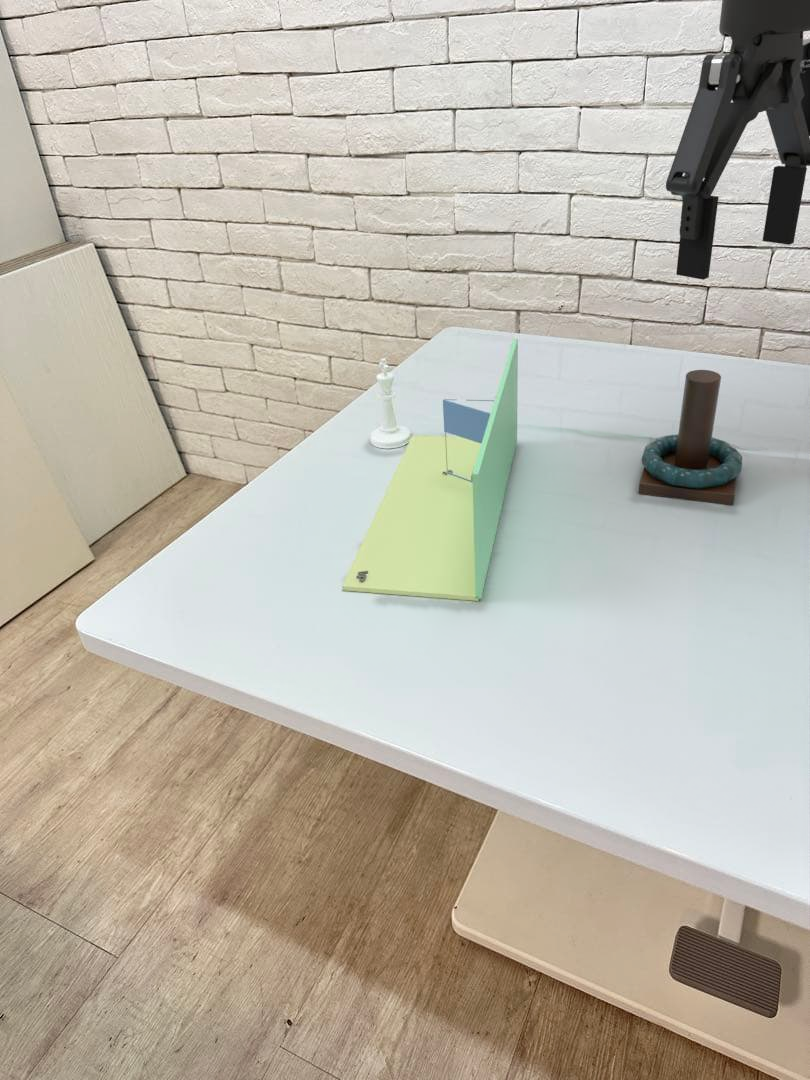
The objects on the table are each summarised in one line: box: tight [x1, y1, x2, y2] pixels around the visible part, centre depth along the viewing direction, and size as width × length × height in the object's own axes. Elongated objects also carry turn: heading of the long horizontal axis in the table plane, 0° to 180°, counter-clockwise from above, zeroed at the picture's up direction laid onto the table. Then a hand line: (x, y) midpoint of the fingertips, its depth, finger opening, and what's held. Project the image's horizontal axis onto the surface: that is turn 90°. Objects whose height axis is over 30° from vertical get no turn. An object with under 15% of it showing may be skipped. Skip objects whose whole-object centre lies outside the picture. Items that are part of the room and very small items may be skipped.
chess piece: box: [369, 357, 412, 450], centre depth 92 cm, size 5×5×10 cm
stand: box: [637, 369, 738, 506], centre depth 79 cm, size 9×9×11 cm
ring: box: [641, 433, 743, 488], centre depth 81 cm, size 10×10×2 cm
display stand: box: [341, 337, 519, 602], centre depth 78 cm, size 30×12×12 cm, turn 167°
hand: (736, 258), depth 72 cm, fingers open, 13 cm apart
